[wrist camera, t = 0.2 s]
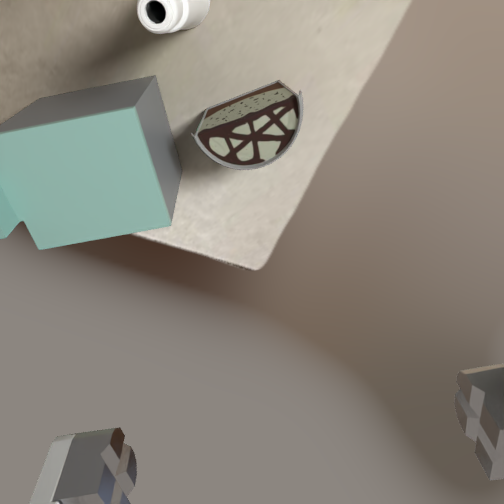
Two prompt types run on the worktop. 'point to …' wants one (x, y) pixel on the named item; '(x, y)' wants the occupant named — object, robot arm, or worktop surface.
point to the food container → (251, 127)
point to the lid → (80, 179)
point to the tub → (110, 98)
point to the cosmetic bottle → (171, 14)
